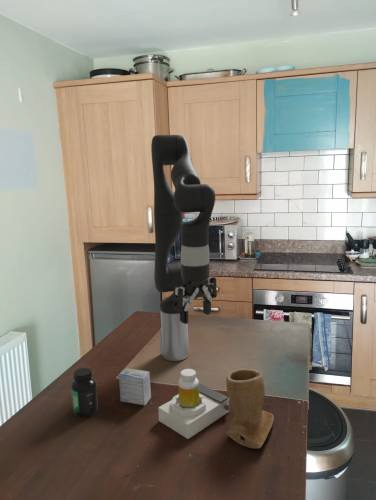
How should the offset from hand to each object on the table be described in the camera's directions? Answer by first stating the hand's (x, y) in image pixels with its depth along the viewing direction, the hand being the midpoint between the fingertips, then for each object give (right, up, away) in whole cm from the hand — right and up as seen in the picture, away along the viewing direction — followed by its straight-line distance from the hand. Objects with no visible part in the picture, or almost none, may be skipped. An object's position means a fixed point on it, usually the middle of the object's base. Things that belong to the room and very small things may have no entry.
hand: (195, 318), depth 116 cm
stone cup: (+13, -28, -7) cm, 31 cm away
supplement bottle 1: (-31, -27, +3) cm, 41 cm away
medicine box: (-17, -25, +8) cm, 32 cm away
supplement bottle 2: (-2, -23, -3) cm, 23 cm away
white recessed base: (0, -26, 0) cm, 26 cm away
